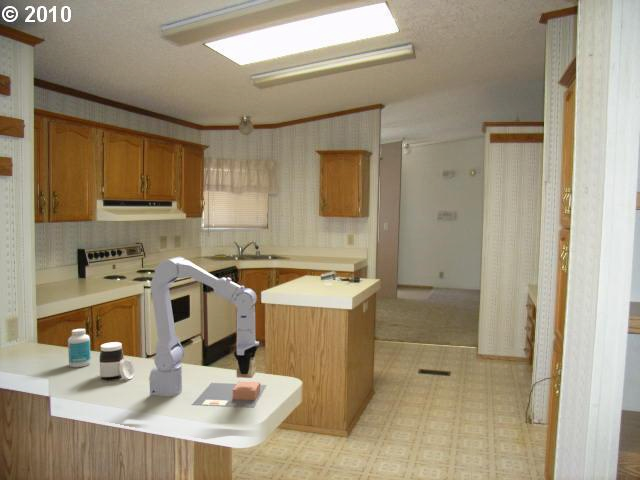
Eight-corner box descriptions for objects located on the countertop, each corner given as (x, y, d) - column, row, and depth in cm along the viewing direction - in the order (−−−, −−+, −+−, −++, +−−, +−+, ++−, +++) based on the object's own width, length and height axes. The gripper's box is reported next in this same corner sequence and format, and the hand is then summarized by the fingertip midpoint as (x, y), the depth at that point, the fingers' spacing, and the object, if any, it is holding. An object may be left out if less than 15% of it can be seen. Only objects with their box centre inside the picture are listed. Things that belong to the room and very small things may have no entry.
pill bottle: (94, 363, 185) (93, 329, 184) (76, 369, 178) (74, 333, 177) (83, 360, 189) (82, 326, 188) (64, 365, 182) (63, 330, 181)
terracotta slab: (232, 399, 149) (232, 389, 149) (238, 390, 156) (238, 381, 156) (254, 400, 148) (254, 390, 148) (260, 391, 155) (260, 382, 155)
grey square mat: (191, 407, 145) (191, 404, 145) (211, 385, 163) (211, 382, 163) (253, 410, 143) (253, 407, 143) (266, 388, 161) (266, 384, 161)
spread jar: (102, 373, 174) (101, 341, 174) (135, 370, 178) (134, 339, 177) (97, 385, 163) (96, 351, 162) (133, 381, 166) (132, 348, 166)
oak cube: (236, 377, 150) (236, 361, 149) (240, 372, 154) (240, 356, 154) (251, 377, 149) (251, 362, 149) (255, 372, 154) (255, 357, 154)
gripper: (253, 334, 143) (253, 379, 144) (263, 322, 157) (264, 363, 158) (229, 334, 144) (230, 378, 145) (242, 322, 158) (243, 362, 159)
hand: (246, 370), depth 152 cm, fingers closed on oak cube, 5 cm apart
